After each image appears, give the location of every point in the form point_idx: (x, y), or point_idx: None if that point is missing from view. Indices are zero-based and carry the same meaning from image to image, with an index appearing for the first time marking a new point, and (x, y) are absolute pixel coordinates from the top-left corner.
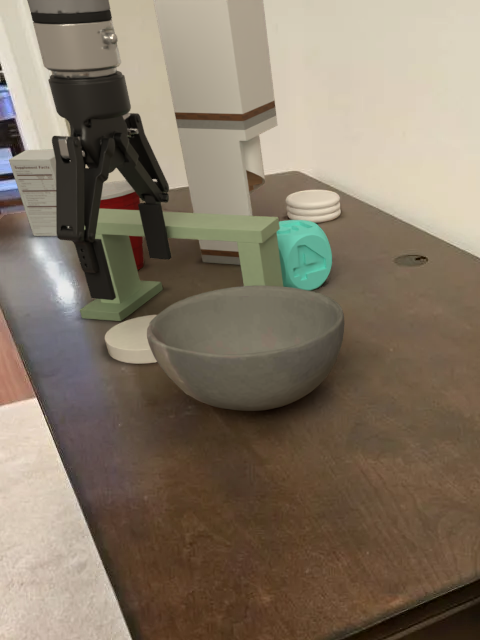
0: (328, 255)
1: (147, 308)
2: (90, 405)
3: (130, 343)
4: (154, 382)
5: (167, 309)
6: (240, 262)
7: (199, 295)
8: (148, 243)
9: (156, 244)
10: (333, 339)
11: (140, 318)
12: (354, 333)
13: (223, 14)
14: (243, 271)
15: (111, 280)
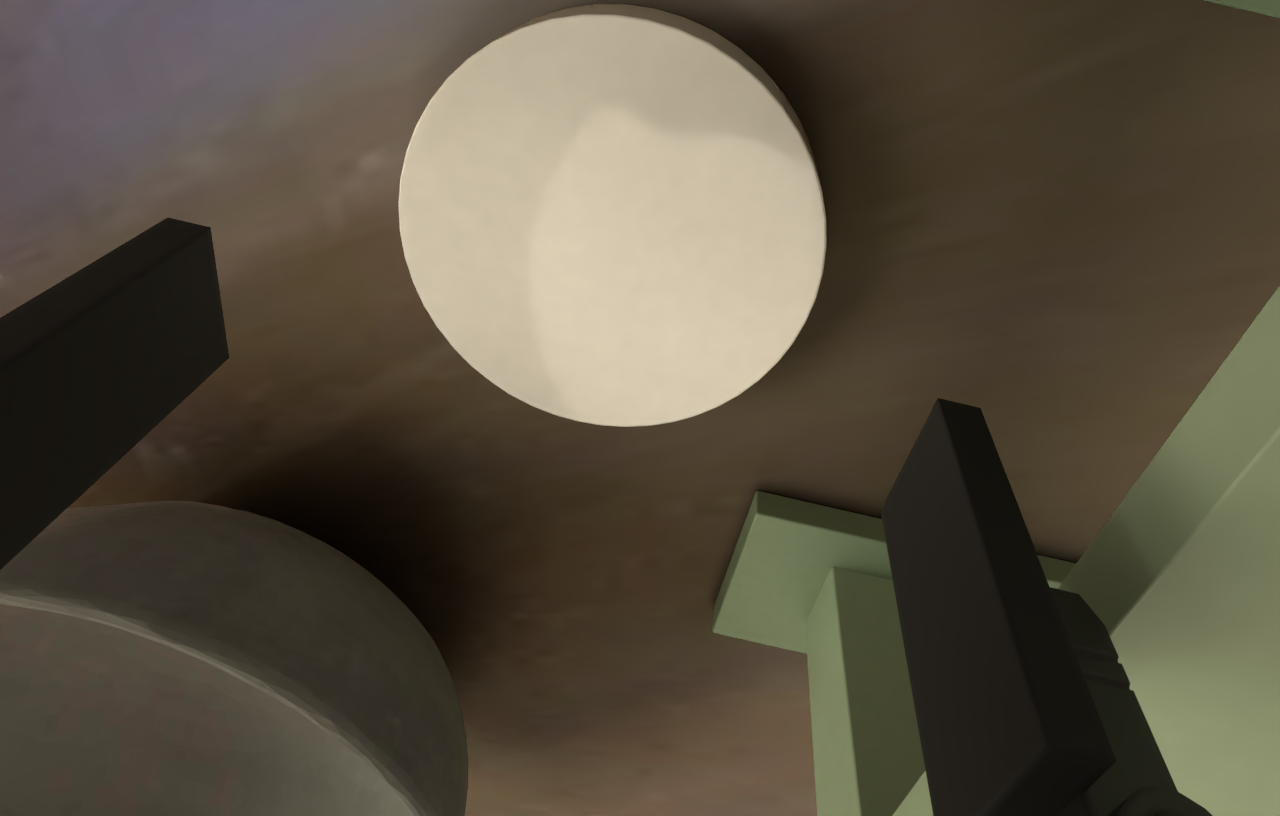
0: None
1: (1147, 53)
2: (55, 127)
3: (464, 197)
4: (292, 314)
5: (112, 624)
6: (849, 755)
7: (287, 705)
8: (953, 479)
9: (923, 528)
10: None
11: (780, 157)
12: (703, 770)
13: None
14: (844, 721)
15: (162, 417)
